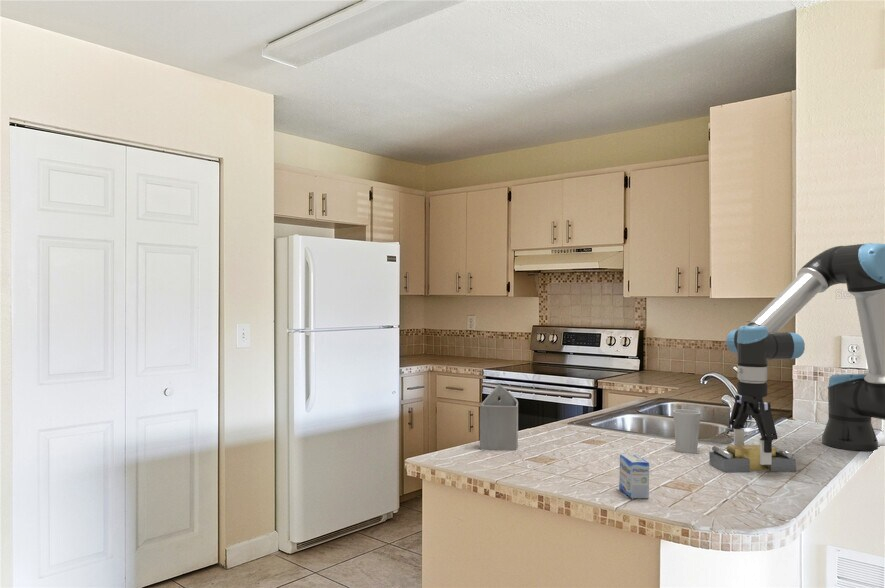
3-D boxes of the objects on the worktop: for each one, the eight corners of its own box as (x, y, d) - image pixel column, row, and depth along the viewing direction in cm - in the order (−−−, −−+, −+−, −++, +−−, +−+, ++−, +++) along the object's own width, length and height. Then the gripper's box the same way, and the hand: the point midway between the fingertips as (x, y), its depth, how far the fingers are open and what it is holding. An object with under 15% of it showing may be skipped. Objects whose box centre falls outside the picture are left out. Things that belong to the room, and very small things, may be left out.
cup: (702, 454, 190) (703, 414, 190) (674, 452, 192) (675, 413, 192) (697, 448, 198) (697, 410, 198) (670, 446, 200) (671, 408, 200)
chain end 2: (777, 463, 180) (777, 445, 180) (795, 471, 172) (796, 452, 172) (753, 463, 180) (753, 445, 180) (771, 471, 171) (771, 453, 171)
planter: (496, 454, 189) (497, 389, 189) (479, 449, 195) (479, 386, 195) (534, 446, 199) (534, 385, 199) (516, 442, 205) (516, 382, 205)
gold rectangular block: (766, 465, 178) (766, 444, 178) (775, 469, 174) (775, 448, 174) (726, 467, 177) (726, 445, 177) (735, 470, 173) (735, 448, 173)
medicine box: (618, 489, 155) (618, 453, 155) (636, 488, 155) (636, 453, 155) (631, 499, 147) (631, 462, 147) (649, 499, 147) (649, 462, 147)
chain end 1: (733, 463, 180) (733, 445, 180) (749, 472, 171) (749, 453, 171) (709, 463, 179) (709, 445, 179) (724, 472, 171) (724, 453, 171)
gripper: (717, 375, 188) (716, 447, 188) (764, 387, 163) (764, 470, 163) (741, 375, 188) (741, 447, 188) (792, 387, 163) (792, 469, 163)
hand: (751, 457), depth 176 cm, fingers open, 13 cm apart
